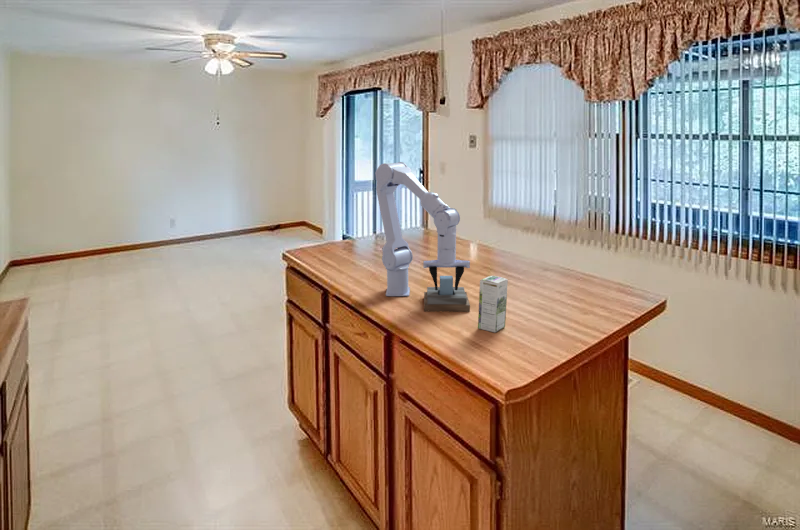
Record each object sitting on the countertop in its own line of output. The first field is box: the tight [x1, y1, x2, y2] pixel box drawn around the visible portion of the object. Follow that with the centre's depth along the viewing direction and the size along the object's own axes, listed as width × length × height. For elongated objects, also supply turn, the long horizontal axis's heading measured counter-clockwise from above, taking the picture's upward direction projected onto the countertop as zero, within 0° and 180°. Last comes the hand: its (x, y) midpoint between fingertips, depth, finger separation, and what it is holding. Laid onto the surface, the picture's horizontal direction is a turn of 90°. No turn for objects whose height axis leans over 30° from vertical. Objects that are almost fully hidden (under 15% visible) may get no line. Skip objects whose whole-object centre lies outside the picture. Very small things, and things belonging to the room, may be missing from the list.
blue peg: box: [439, 275, 454, 295], centre depth 171 cm, size 4×4×7 cm
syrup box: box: [477, 275, 509, 333], centre depth 150 cm, size 6×6×14 cm
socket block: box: [423, 286, 471, 313], centre depth 172 cm, size 14×14×4 cm
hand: (446, 289), depth 171 cm, fingers open, 6 cm apart
